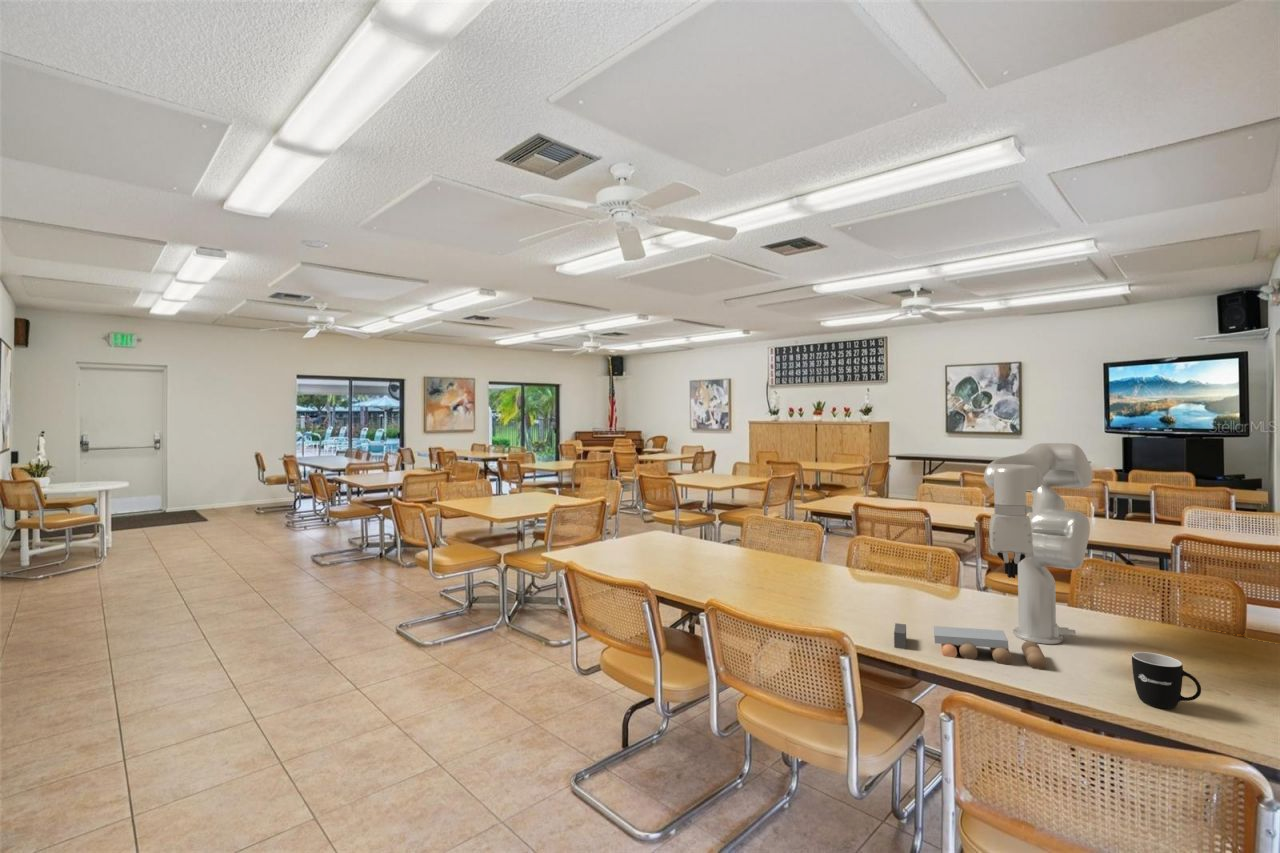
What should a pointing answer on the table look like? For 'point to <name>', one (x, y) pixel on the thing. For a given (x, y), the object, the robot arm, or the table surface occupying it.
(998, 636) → the slab
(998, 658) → the roller mid
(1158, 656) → the mug
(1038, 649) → the roller
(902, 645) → the block
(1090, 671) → the table surface
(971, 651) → the roller
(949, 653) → the roller
